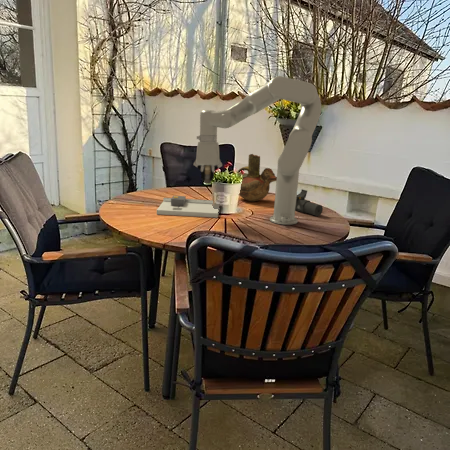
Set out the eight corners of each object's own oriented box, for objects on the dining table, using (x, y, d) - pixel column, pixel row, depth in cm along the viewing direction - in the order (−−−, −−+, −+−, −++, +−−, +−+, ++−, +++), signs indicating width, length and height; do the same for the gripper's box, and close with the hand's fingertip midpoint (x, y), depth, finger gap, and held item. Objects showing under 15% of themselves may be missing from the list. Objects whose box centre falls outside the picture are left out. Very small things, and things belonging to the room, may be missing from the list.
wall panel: (217, 217, 192) (218, 210, 191) (156, 214, 193) (156, 206, 192) (219, 205, 215) (220, 198, 214) (165, 202, 216) (165, 195, 215)
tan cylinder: (210, 183, 190) (211, 165, 188) (204, 183, 191) (204, 165, 188) (211, 182, 193) (211, 164, 191) (204, 181, 193) (204, 164, 191)
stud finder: (183, 205, 201) (183, 199, 201) (170, 205, 202) (171, 198, 201) (185, 202, 209) (185, 195, 208) (173, 201, 209) (173, 195, 208)
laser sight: (311, 217, 202) (313, 197, 199) (279, 207, 219) (280, 188, 216) (324, 215, 207) (327, 195, 204) (292, 205, 224) (294, 187, 222)
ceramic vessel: (269, 207, 217) (273, 158, 211) (225, 199, 229) (227, 153, 222) (281, 201, 232) (285, 156, 225) (239, 195, 244) (242, 151, 237)
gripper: (189, 139, 183) (188, 181, 188) (226, 140, 183) (225, 182, 188) (190, 138, 190) (190, 178, 195) (226, 139, 190) (225, 179, 195)
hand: (207, 179), depth 192 cm, fingers closed on tan cylinder, 3 cm apart
